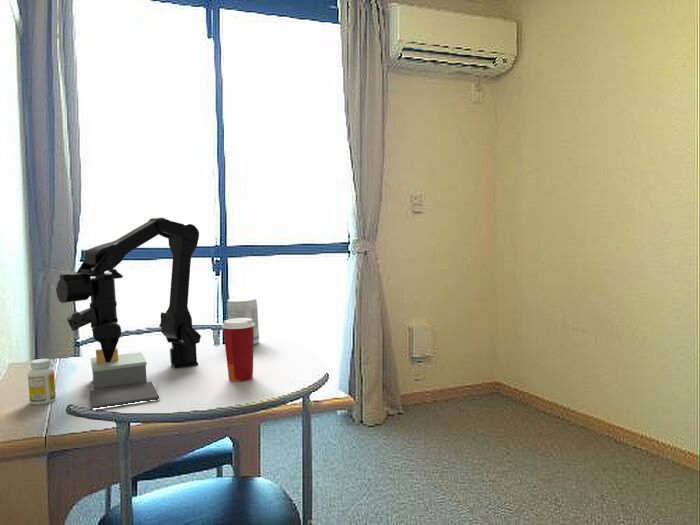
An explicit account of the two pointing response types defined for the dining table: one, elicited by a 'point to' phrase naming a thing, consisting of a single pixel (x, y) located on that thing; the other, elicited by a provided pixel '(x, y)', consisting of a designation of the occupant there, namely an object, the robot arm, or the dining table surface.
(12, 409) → the dining table surface
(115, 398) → the mat
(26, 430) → the dining table surface
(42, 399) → the supplement bottle
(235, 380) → the coffee cup
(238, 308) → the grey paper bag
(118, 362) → the lid
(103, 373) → the tub
